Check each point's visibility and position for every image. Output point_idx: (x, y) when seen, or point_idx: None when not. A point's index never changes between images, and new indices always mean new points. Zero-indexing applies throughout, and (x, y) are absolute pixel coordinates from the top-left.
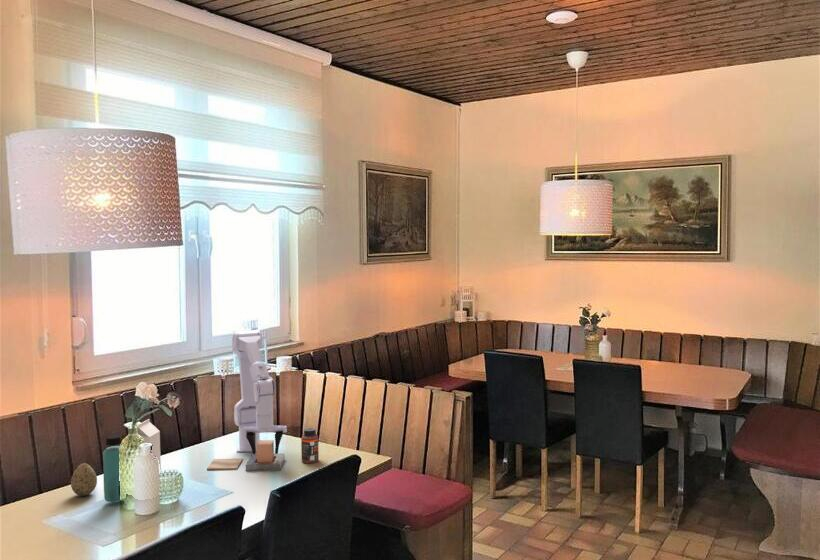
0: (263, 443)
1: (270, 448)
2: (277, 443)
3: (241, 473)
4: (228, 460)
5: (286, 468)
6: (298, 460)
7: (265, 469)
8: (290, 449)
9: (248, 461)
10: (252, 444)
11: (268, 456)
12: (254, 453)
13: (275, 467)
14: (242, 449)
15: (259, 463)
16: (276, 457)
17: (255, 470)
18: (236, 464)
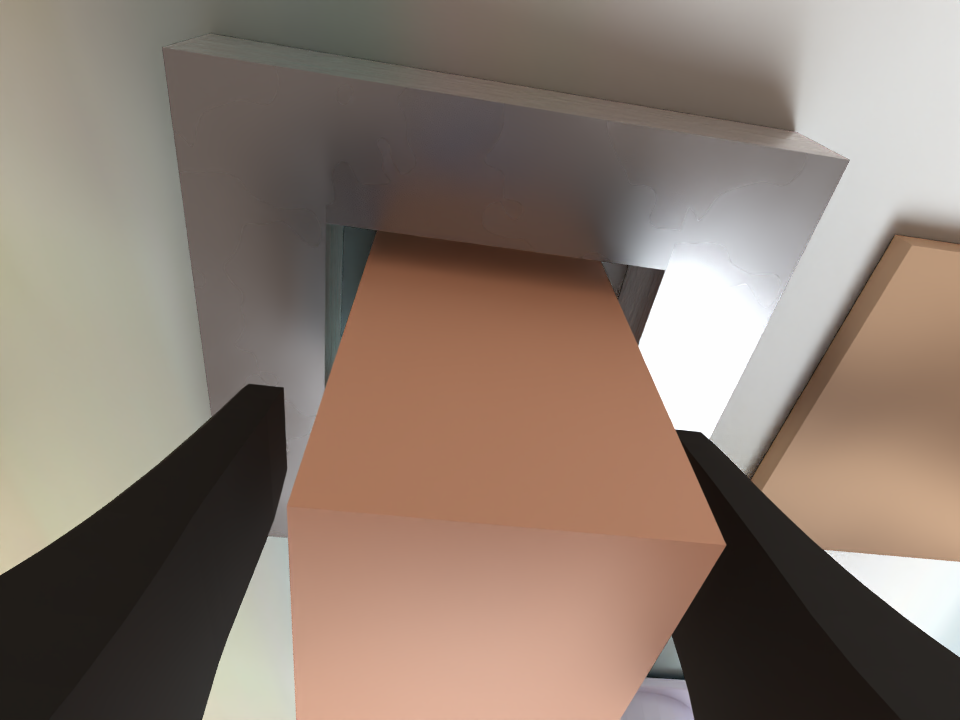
0: (528, 590)
1: (344, 423)
2: (108, 534)
3: (899, 16)
4: (898, 511)
5: (117, 109)
6: (52, 412)
7: (475, 81)
8: (251, 673)
9: (746, 338)
10: (813, 583)
11: (416, 320)
12: (681, 437)
13: (282, 52)
14: (680, 704)
15: (585, 202)
16: (313, 423)
17: (643, 106)
18: (864, 377)
